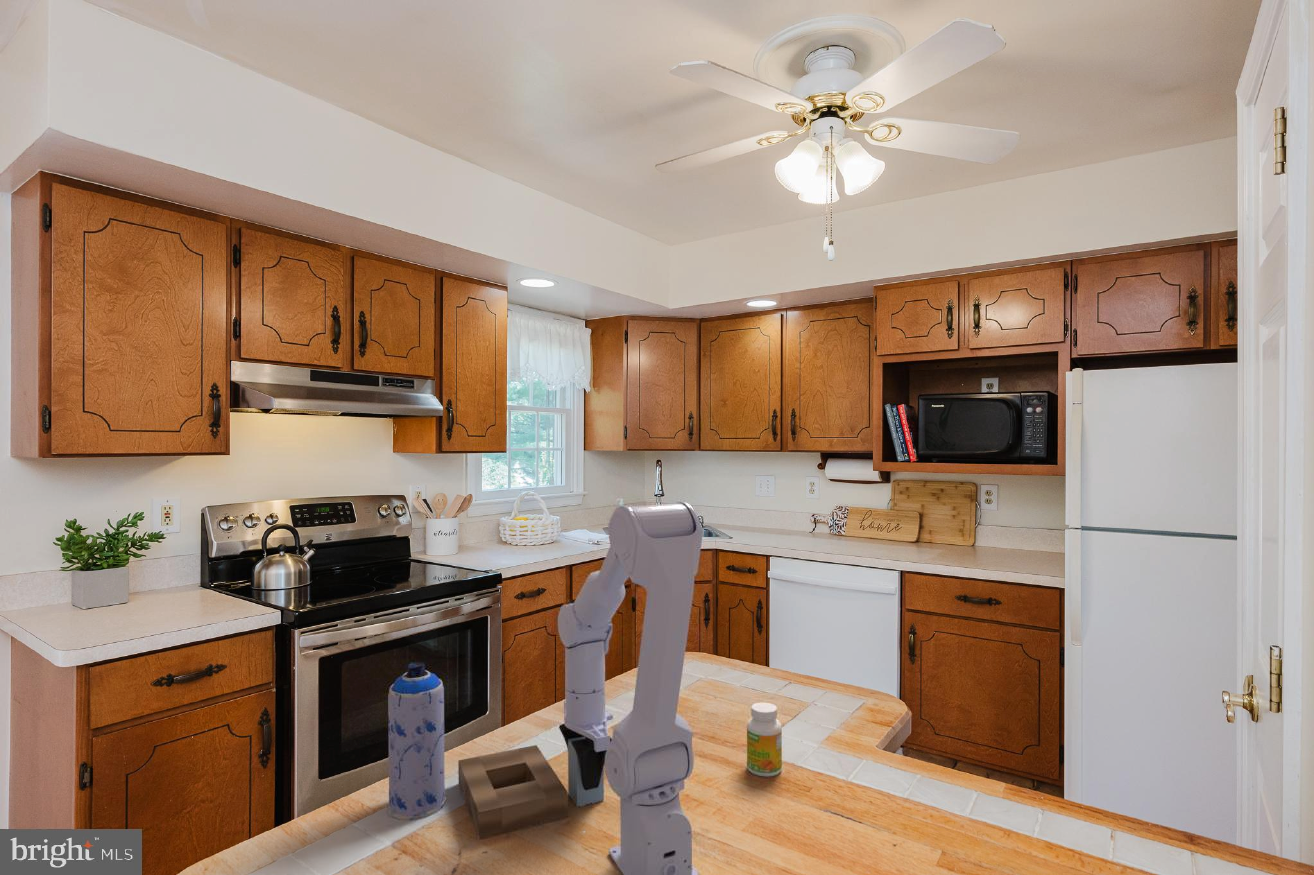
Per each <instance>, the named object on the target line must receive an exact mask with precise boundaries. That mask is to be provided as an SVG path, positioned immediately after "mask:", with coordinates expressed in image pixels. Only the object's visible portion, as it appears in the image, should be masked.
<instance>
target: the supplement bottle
mask: <svg viewBox="0 0 1314 875" xmlns="http://www.w3.org/2000/svg"><path fill="white" fill-rule="evenodd" d="M750 710H751V712H750V714H751V718H749V719H748V721H747V724H746V766H747V770H748V771H749V772H750V773H752V774H753V775H756V776H758V777H759V776H760V777H774V776H777V775H779V774H780V773H781V772H782V770H783V768H782V766H783V762H782V761H783V759H782V758H783V756H782V755H783V752H782V748H783V746H782V742H783V741H782V732H783V731H782V730H783V729H782V724H781V722H780V720H778V719H777V717H778V708H777V706H776V705H775V704H773V703H770V702H756V703H753V704H752V705H751V709H750Z"/></svg>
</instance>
